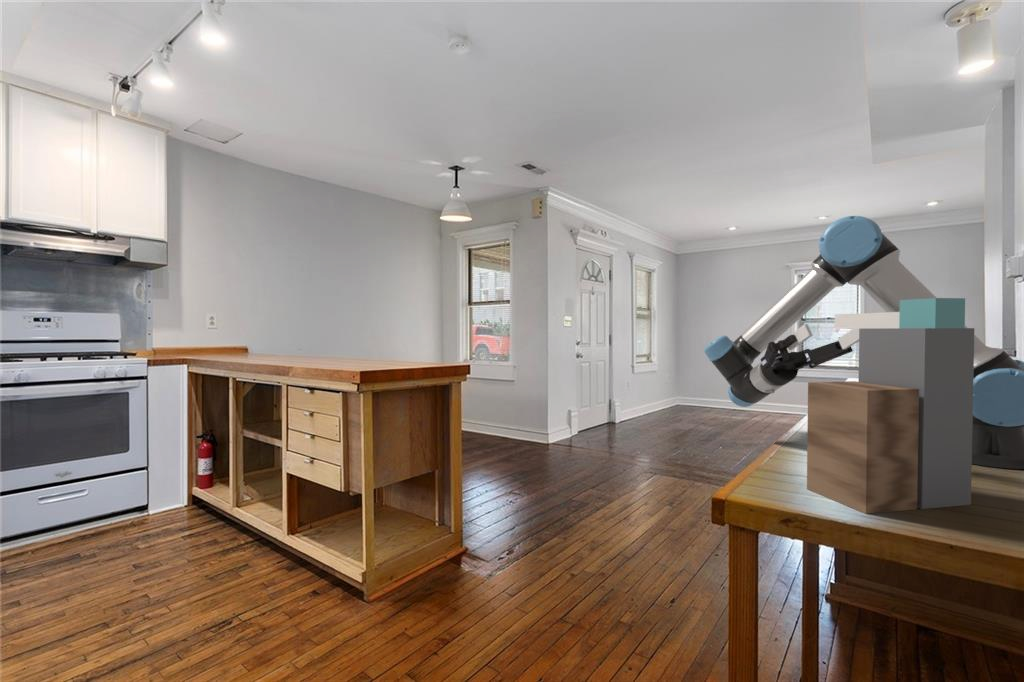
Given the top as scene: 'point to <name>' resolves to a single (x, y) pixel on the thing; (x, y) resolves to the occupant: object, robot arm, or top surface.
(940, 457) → the tower
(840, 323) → the bar
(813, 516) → the top surface
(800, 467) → the top surface
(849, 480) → the tall wooden pillar
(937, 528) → the top surface
